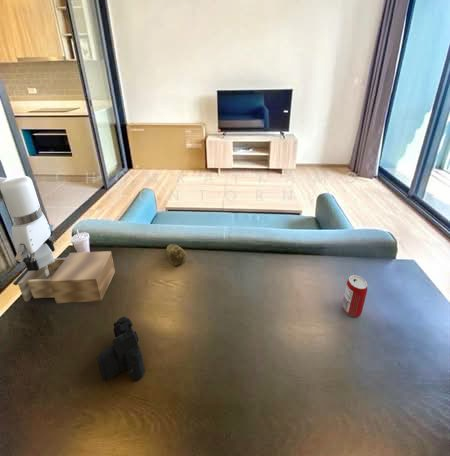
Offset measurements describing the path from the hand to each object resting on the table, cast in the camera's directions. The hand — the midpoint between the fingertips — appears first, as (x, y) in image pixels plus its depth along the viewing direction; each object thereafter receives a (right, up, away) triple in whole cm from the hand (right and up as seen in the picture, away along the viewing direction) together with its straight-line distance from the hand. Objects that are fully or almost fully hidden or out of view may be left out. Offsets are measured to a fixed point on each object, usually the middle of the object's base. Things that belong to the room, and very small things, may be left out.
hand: (42, 259), depth 83 cm
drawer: (0, -11, +4) cm, 12 cm away
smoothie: (+4, -7, +19) cm, 20 cm away
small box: (0, -1, 0) cm, 1 cm away
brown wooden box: (+13, -11, +5) cm, 18 cm away
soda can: (+101, -14, -4) cm, 102 cm away
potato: (+42, -7, +16) cm, 45 cm away
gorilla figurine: (+34, -20, -18) cm, 43 cm away
